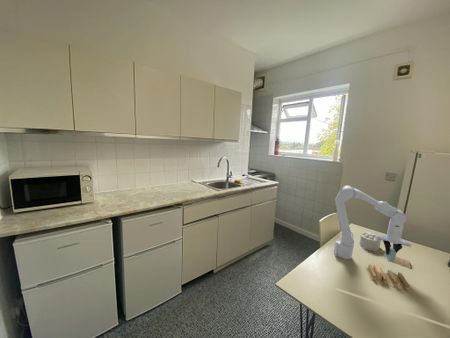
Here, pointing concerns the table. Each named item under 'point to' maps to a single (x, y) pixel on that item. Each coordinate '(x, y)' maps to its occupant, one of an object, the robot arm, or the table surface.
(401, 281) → the rack
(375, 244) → the lumpy-topped squat cylinder
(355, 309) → the table surface
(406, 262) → the clay tablet
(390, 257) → the pale blue block
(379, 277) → the wooden block
